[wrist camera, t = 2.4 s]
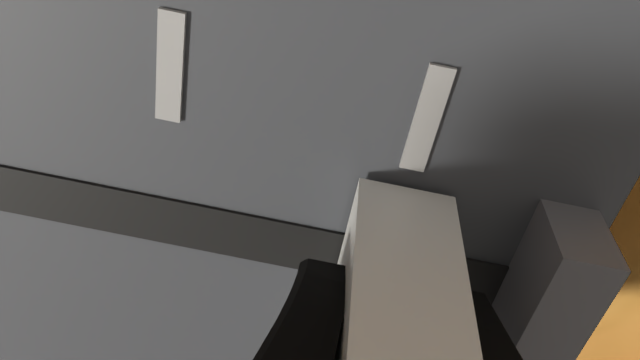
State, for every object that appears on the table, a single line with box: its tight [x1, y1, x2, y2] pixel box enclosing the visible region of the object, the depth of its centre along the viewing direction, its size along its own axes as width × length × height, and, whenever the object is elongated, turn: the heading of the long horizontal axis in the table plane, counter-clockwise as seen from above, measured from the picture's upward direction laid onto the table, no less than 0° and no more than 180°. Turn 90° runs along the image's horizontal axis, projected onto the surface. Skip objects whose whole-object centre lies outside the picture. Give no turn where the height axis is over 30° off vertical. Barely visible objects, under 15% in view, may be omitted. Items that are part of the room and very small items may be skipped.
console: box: [0, 0, 640, 360], centre depth 11 cm, size 16×16×4 cm
